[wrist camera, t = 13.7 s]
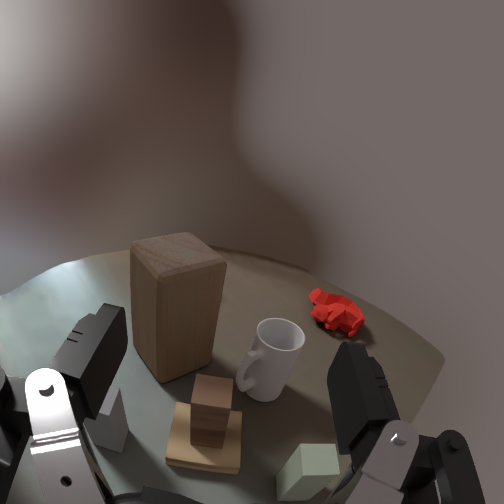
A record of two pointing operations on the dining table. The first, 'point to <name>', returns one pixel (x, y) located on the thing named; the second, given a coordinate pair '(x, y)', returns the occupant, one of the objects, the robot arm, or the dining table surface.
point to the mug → (270, 359)
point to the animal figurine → (336, 312)
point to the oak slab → (202, 456)
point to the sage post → (307, 472)
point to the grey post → (109, 423)
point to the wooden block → (175, 302)
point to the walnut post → (210, 410)
